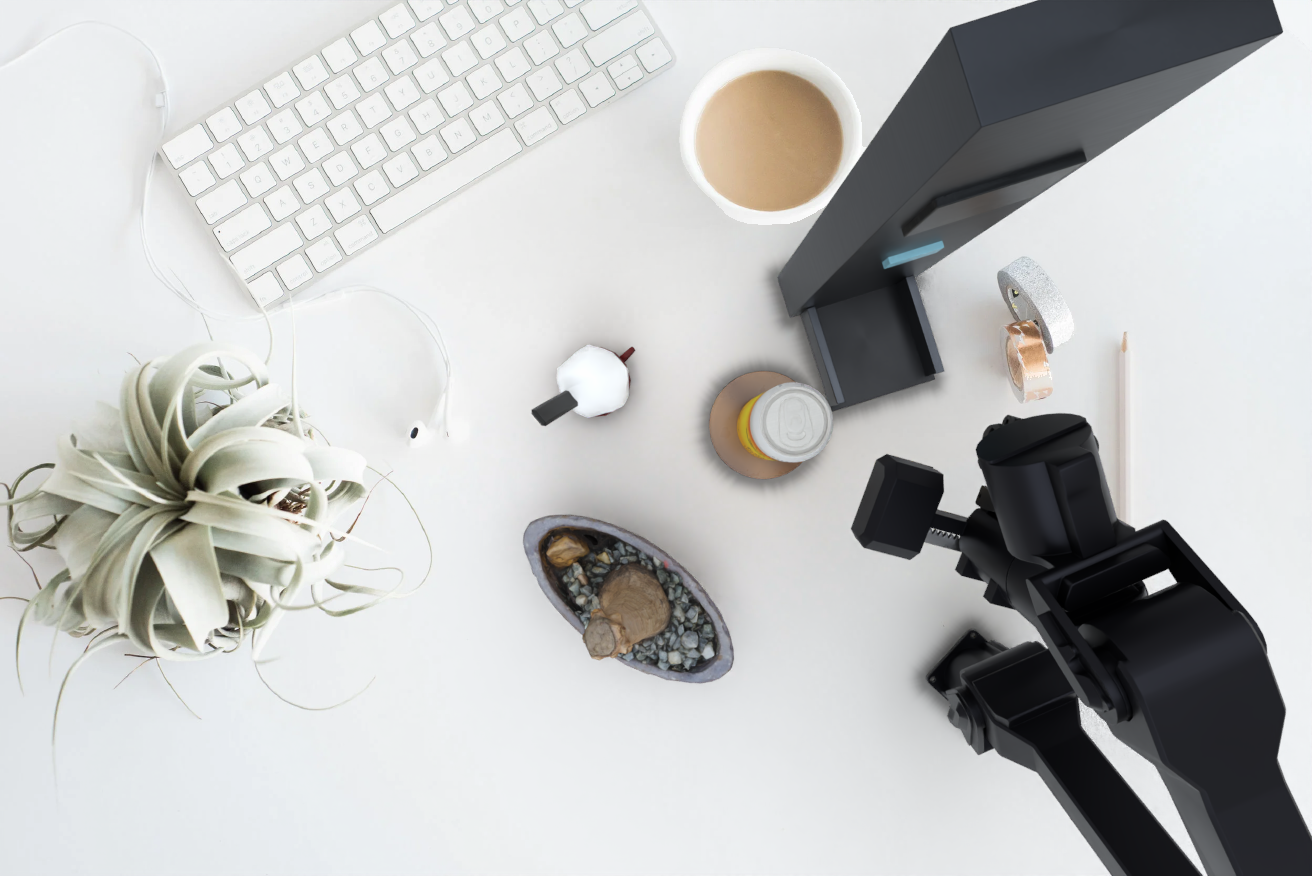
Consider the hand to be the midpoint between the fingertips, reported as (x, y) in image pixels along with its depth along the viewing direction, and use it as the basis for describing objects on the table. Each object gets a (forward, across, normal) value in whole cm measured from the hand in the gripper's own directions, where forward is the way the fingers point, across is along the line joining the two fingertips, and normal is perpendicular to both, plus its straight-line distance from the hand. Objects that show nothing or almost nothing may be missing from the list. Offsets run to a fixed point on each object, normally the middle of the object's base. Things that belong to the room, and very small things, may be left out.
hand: (944, 494), depth 64 cm
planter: (+12, +19, +18) cm, 29 cm away
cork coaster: (+15, +11, +1) cm, 19 cm away
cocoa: (+17, +27, +2) cm, 32 cm away
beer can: (+15, +11, +1) cm, 18 cm away
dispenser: (+17, +5, -10) cm, 20 cm away
